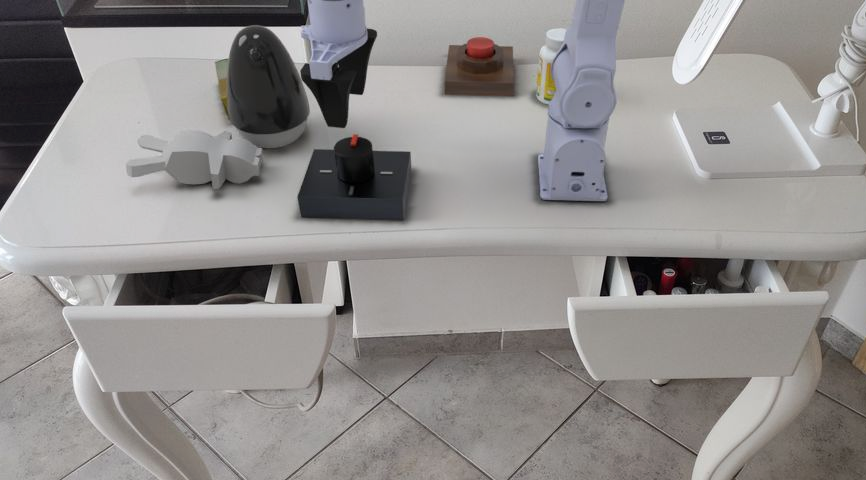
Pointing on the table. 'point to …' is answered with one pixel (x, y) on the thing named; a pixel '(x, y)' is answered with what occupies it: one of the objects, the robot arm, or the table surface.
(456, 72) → the button box
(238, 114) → the black glossy egg shape
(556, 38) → the supplement bottle
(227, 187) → the table surface
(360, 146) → the dial
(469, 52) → the button
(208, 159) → the bunny figurine
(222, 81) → the medication box
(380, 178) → the dial panel
